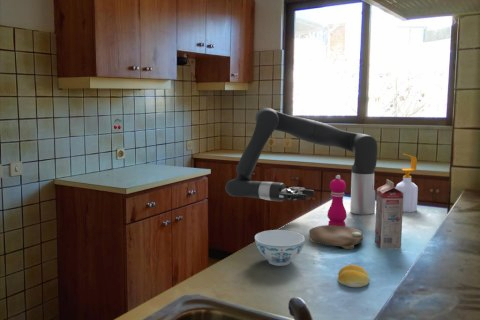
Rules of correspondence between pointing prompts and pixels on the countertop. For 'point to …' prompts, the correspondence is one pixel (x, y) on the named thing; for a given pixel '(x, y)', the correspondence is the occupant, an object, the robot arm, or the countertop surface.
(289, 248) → the chinaware
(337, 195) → the pepper mill
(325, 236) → the round wooden disc
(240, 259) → the countertop surface
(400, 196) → the juice carton
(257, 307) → the countertop surface
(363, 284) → the bread roll
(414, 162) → the soap bottle
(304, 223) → the countertop surface
